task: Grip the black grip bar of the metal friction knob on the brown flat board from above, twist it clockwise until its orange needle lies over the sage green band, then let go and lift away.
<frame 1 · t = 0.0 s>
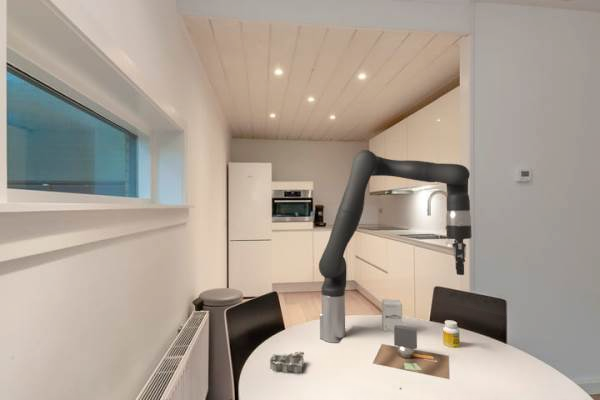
hand: (459, 272, 103), 29 cm above the table, tool pointing down, fingers open, 8 cm apart
supplement bottle: (451, 349, 111), on the table
supplement box: (392, 332, 127), on the table
brown flat board: (411, 364, 100), on the table
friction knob: (413, 342, 102), point 6 cm above the table, hinge at 0.0°
egg carton: (287, 368, 98), on the table
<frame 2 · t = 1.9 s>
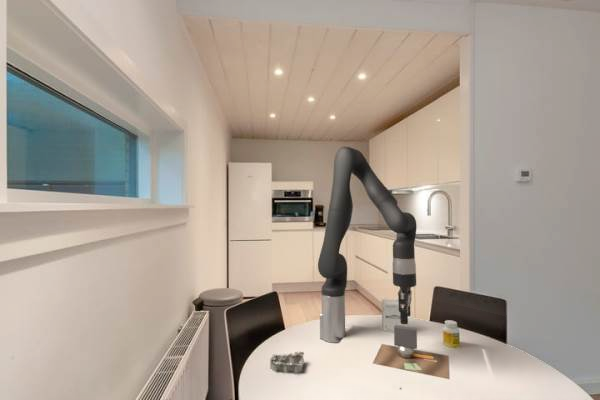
hand: (405, 319, 103), 13 cm above the table, tool pointing down, fingers open, 8 cm apart
nothing on the table moved.
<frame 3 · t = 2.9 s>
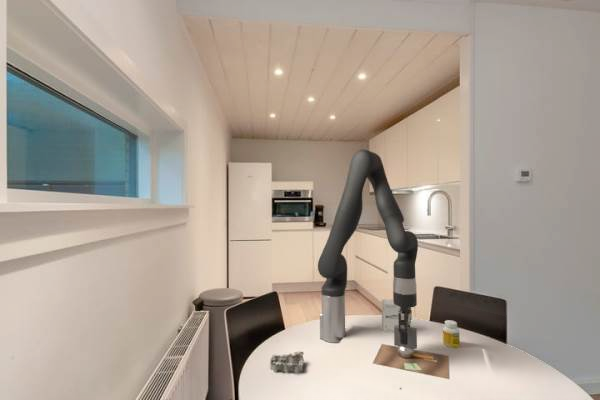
hand: (405, 339, 103), 7 cm above the table, tool pointing down, fingers open, 8 cm apart
nothing on the table moved.
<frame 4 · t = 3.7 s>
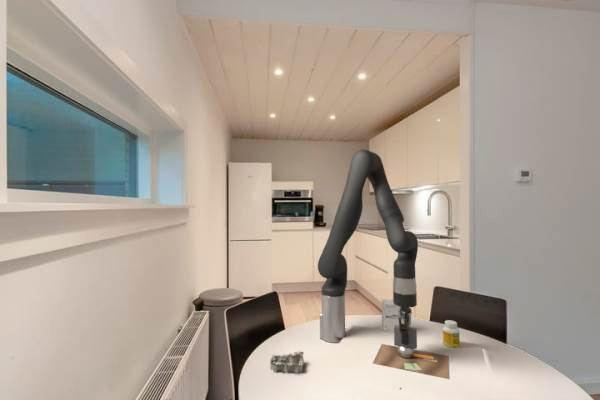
hand: (405, 342, 103), 6 cm above the table, tool pointing down, fingers closed on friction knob, 2 cm apart
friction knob: (413, 342, 102), point 6 cm above the table, hinge at 0.0°, touching gripper
everything else where it was.
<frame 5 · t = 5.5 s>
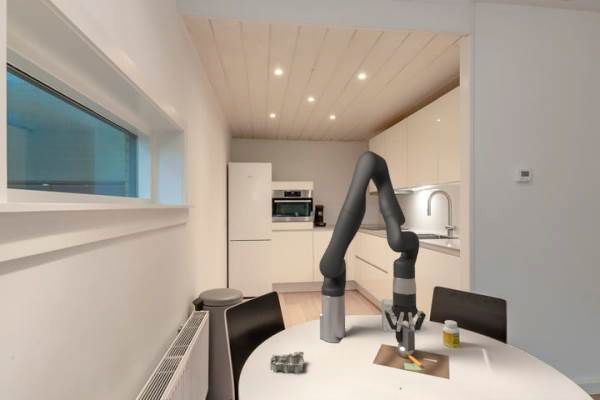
hand: (404, 341, 103), 6 cm above the table, tool pointing down, fingers closed on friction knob, 3 cm apart
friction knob: (409, 344, 100), point 6 cm above the table, hinge at -52.4°, touching gripper
everything else where it was.
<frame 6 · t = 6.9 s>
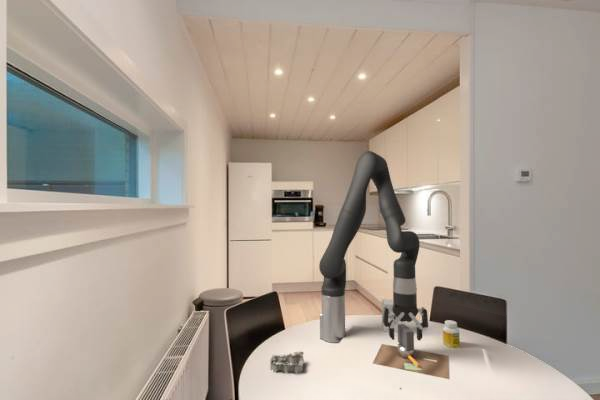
hand: (405, 339, 103), 7 cm above the table, tool pointing down, fingers open, 8 cm apart
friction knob: (409, 344, 100), point 6 cm above the table, hinge at -58.5°
everything else where it was.
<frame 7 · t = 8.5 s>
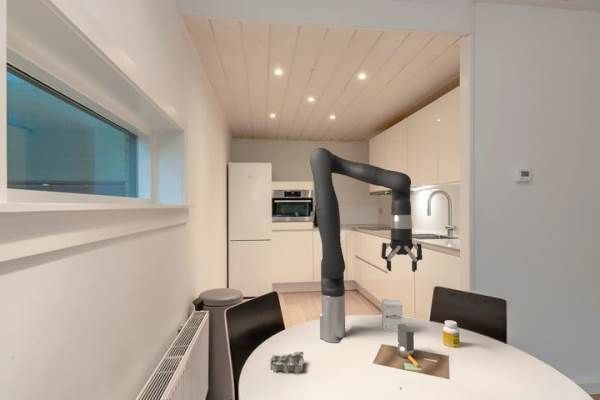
hand: (401, 271, 113), 28 cm above the table, tool pointing down, fingers open, 8 cm apart
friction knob: (408, 344, 100), point 6 cm above the table, hinge at -59.6°
everything else where it was.
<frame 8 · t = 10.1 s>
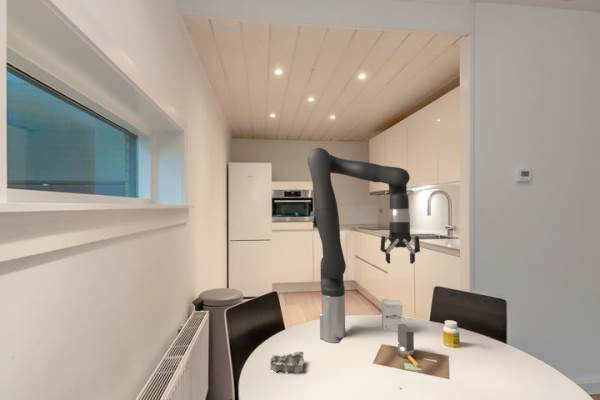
hand: (400, 263, 117), 30 cm above the table, tool pointing down, fingers open, 8 cm apart
nothing on the table moved.
at the end: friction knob at -60° (first picture: +0°); the gripper is holding nothing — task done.
